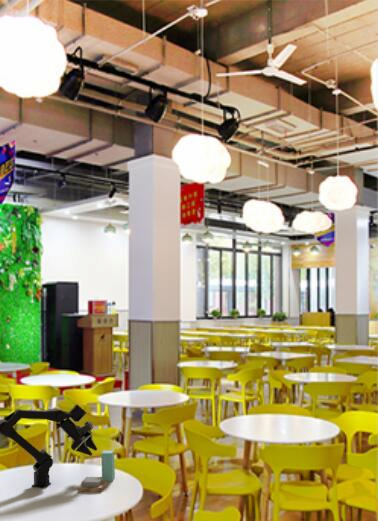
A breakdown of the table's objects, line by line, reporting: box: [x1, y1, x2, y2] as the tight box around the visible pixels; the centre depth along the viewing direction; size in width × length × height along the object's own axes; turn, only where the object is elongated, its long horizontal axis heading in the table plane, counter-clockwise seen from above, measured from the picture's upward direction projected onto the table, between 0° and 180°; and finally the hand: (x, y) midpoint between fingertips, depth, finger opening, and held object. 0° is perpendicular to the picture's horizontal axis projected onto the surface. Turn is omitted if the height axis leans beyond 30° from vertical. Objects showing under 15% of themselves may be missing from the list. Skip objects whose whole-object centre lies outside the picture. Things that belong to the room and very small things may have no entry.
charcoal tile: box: [80, 476, 103, 487], centre depth 263 cm, size 8×8×2 cm
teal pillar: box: [101, 450, 116, 482], centre depth 275 cm, size 5×5×13 cm
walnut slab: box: [77, 480, 108, 493], centre depth 263 cm, size 11×11×2 cm
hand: (94, 452), depth 276 cm, fingers open, 9 cm apart
